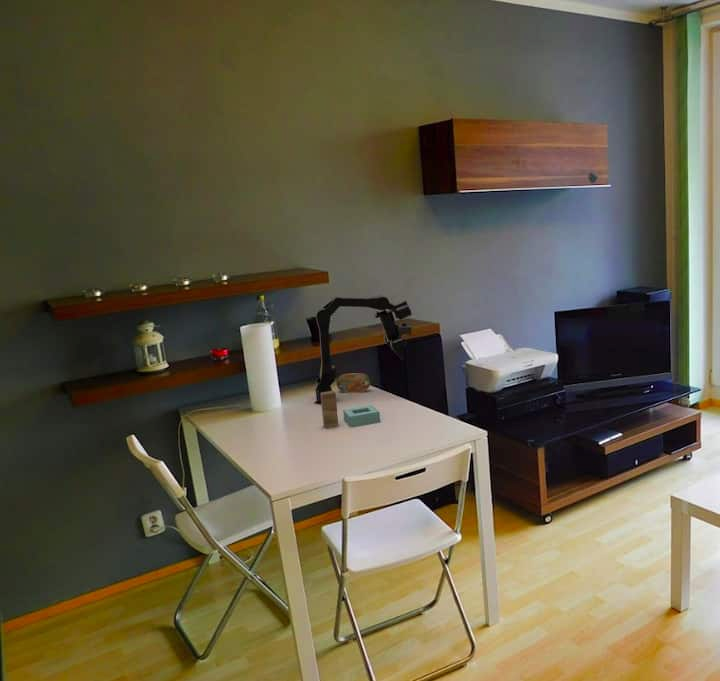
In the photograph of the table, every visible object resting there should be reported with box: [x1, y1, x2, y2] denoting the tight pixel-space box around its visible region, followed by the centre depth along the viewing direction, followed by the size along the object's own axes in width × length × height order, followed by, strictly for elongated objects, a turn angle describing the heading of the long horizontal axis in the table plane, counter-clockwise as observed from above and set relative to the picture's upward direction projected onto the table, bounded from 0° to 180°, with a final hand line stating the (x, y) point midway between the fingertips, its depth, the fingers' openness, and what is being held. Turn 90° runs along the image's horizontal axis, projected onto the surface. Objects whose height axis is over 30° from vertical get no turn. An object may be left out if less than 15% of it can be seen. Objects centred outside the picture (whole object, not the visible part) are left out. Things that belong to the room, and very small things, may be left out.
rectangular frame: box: [342, 404, 381, 428], centre depth 230 cm, size 10×12×4 cm
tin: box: [336, 372, 371, 394], centre depth 271 cm, size 15×3×8 cm, turn 76°
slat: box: [320, 390, 339, 429], centre depth 226 cm, size 3×5×13 cm, turn 106°
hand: (400, 357), depth 261 cm, fingers open, 9 cm apart
